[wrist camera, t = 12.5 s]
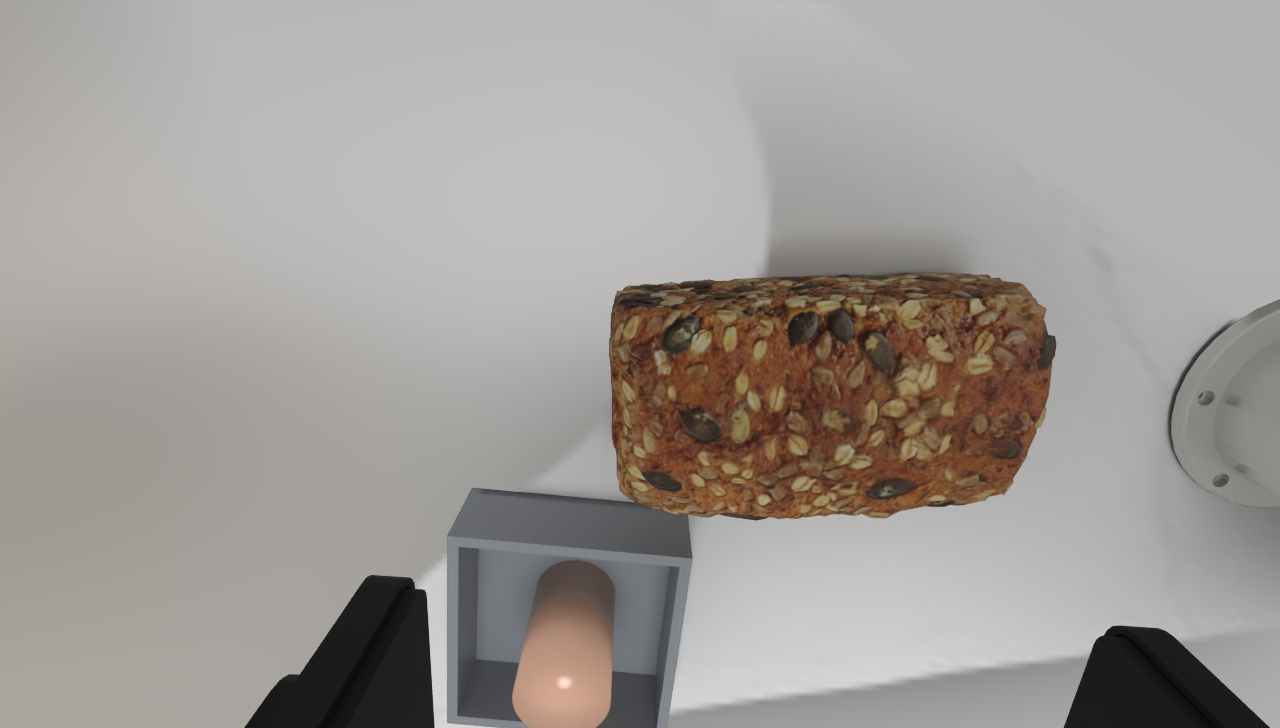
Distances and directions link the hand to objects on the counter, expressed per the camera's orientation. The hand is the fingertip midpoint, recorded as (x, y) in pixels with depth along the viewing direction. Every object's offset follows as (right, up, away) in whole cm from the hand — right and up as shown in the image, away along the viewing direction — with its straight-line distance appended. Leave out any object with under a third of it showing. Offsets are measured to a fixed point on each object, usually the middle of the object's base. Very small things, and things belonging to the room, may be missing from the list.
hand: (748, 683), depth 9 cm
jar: (-6, -10, +31) cm, 33 cm away
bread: (+7, +5, +27) cm, 28 cm away
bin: (-6, -10, +31) cm, 33 cm away
